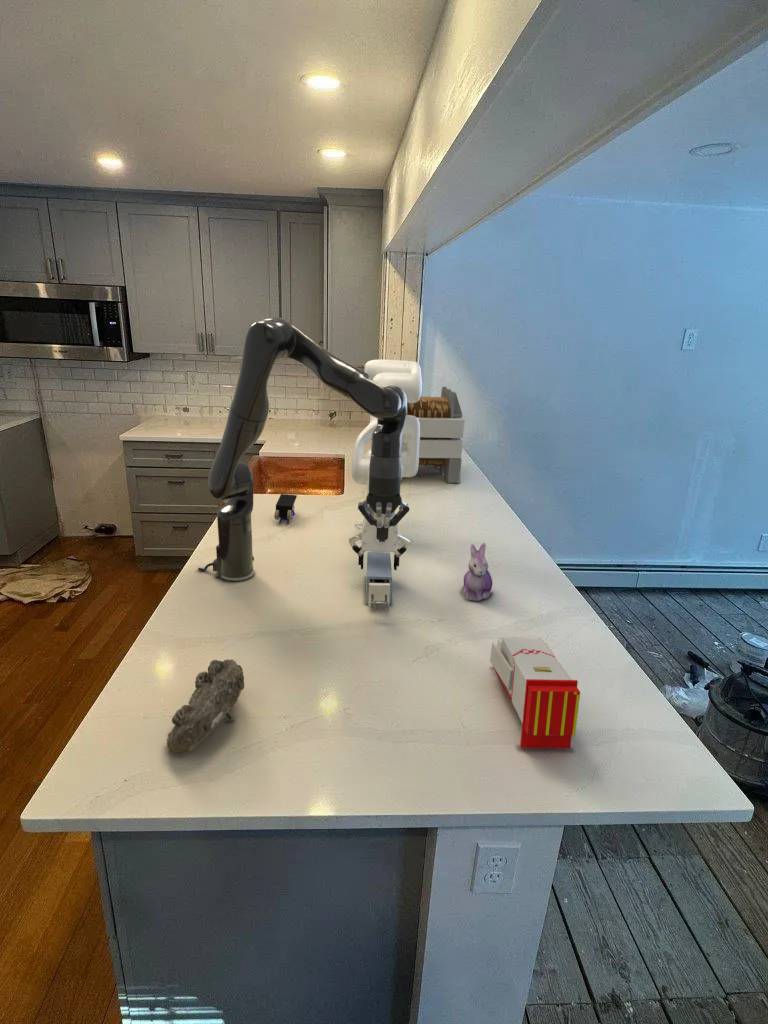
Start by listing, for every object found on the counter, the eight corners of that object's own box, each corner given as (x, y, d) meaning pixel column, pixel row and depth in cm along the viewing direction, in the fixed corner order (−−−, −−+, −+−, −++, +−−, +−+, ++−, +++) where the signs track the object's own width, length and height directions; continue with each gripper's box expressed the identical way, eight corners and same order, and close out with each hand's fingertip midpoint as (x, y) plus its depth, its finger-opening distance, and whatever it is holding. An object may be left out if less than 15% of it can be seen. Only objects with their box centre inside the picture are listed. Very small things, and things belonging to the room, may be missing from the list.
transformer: (382, 463, 289) (386, 382, 275) (445, 464, 293) (451, 384, 279) (390, 482, 257) (394, 392, 243) (460, 483, 261) (468, 394, 247)
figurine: (473, 605, 153) (479, 554, 148) (452, 588, 162) (457, 540, 157) (501, 598, 157) (507, 549, 152) (479, 583, 166) (484, 535, 161)
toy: (539, 620, 128) (589, 687, 99) (533, 674, 131) (581, 755, 102) (485, 619, 128) (521, 686, 99) (481, 673, 131) (514, 755, 101)
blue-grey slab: (390, 604, 152) (392, 577, 149) (366, 604, 152) (367, 576, 149) (388, 578, 167) (390, 552, 164) (366, 577, 167) (367, 551, 164)
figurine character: (292, 529, 203) (297, 511, 216) (292, 510, 199) (297, 492, 213) (273, 529, 202) (280, 510, 216) (272, 510, 199) (279, 492, 213)
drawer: (389, 618, 143) (390, 596, 141) (368, 618, 143) (369, 595, 141) (387, 581, 163) (388, 561, 160) (368, 581, 163) (369, 560, 160)
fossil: (192, 660, 117) (244, 628, 112) (224, 691, 120) (276, 661, 115) (142, 746, 98) (202, 712, 93) (182, 779, 101) (242, 748, 96)
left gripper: (356, 476, 130) (354, 546, 135) (414, 478, 130) (409, 547, 136) (357, 467, 137) (355, 534, 142) (412, 469, 137) (408, 535, 143)
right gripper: (348, 514, 151) (347, 572, 156) (413, 516, 151) (409, 574, 157) (349, 504, 158) (348, 561, 164) (411, 507, 158) (408, 563, 164)
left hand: (382, 540), depth 139 cm, fingers closed
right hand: (378, 567), depth 160 cm, fingers open, 9 cm apart
